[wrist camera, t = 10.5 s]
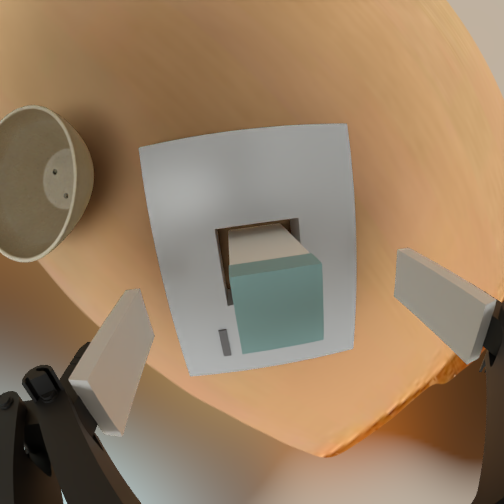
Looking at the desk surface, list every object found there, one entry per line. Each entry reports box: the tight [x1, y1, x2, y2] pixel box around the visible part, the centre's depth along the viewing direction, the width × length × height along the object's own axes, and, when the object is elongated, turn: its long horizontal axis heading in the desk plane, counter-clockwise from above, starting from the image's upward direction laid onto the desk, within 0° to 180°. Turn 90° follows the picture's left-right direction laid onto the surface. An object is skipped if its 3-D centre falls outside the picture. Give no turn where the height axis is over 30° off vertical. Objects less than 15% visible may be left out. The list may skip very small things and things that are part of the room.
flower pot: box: [0, 105, 94, 262], centre depth 16 cm, size 10×10×7 cm
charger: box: [228, 223, 324, 354], centre depth 18 cm, size 4×4×10 cm
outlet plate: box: [139, 124, 356, 376], centre depth 21 cm, size 18×14×3 cm
